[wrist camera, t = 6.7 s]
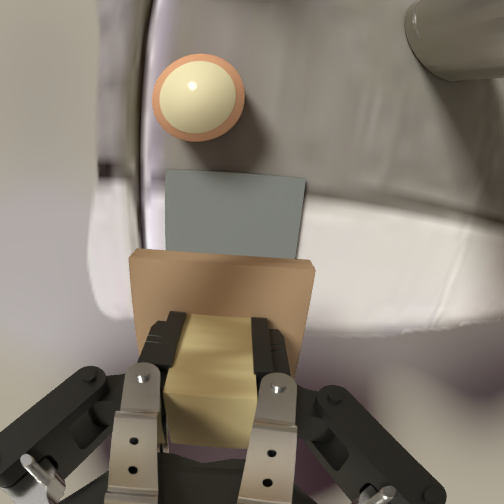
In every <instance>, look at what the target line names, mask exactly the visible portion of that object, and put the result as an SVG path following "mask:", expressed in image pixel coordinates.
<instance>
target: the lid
mask: <svg viewBox="0 0 504 504" xmlns="http://www.w3.org/2000/svg"><path fill="white" fill-rule="evenodd" d="M129 270H130V283H131V294H132V304H133V313H134V321H135V329H136V337H137V344H138V350H139V357H140V354H141V351H142V349H143V346H144V344H145V342H146V338H147V336H148V333H149V331H150V328H151V326H152V325H154V324H155V323H156V322H157V321H158V320H159V321H166V320H167V318H168V315H169V312H170V311H178V312H186V314H187V315H186V318H185V322H184V325H183V328H182V332H181V335H180V339H179V342H178V346H177V349H176V353H175V357H174V360H173V364H172V367H171V368H169V371H168V375H167V378H166V382H165V386H164V389H163V397H164V404H165V410H166V416H167V422H168V428H169V432H170V438H171V442H172V443H178V444H186V445H196V446H207V447H221V448H222V447H223V448H246V449H248V447H249V442H250V436H251V431H252V426H253V421H254V416H255V411H256V405H257V387H256V375H254V371H253V353H252V334H251V317H261V318H267V320H268V328H269V329H278V330H279V331H280V332H281V333H282V335H283V336H284V339H285V346H286V352H287V356H288V362H289V367H290V373H291V377H292V378H293V379H294V377H295V372H296V368H297V364H298V359H299V354H300V350H301V344H302V340H303V335H304V330H305V325H306V320H307V315H308V310H309V304H310V299H311V294H312V288H313V282H314V276H315V271H316V270H315V268H314V266H313V265H312V263H311V261H310V260H303V259H288V258H272V257H257V256H242V255H226V254H211V253H196V252H182V251H167V250H152V249H138V248H137V249H136V250H135V251H134V252H133V253H132V254H131V256H130V257H129Z"/></svg>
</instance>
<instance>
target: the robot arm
mask: <svg viewBox="0 0 504 504" xmlns="http://www.w3.org/2000/svg"><path fill="white" fill-rule="evenodd" d="M405 32H406V35H407V39H408V42H409V44H410V46H411V48H412V50H413V52H414V53H415V55H416V57H417V58H418V59H419V61H420V62H421V63H422V64H423V65H424V66H425V67H426V68H427V69H428V70H429V71H430V72H431V73H433V74H434V75H436V76H438V77H439V78H442V79H444V80H447V81H463V80H476V79H494V78H504V0H420V1H418V2H417V3H415V4H413V5H412V6H411V7H410V8H409V9H408V11H407V14H406V16H405ZM186 315H187V314H186V312H178V311H170V312H169V315H168V318H167V320H166V321H159V320H158V321H157V322H156V323H155V324H154V325H152V326H151V328H150V331H149V333H148V336H147V338H146V342H145V344H144V346H143V349H142V351H141V354H140V357H139V359H138V362H137V363H136V364H134V365H132V366H130V367H129V368H128V369H127V371H126V373H125V374H121V375H111V376H106V375H105V373H104V371H103V370H102V369H100V368H98V367H95V366H87V367H83V368H81V369H79V370H78V371H77V372H75V373H74V374H73V375H72V376H70V377H69V378H68V379H66V380H65V381H64V382H63V383H61V384H60V385H59V386H58V387H56V388H55V389H54V390H52V391H51V392H50V393H49V394H47V395H46V396H45V397H44V398H42V399H41V400H40V401H39V402H37V403H36V404H35V405H34V406H32V407H31V408H30V409H29V410H28V411H26V412H25V413H24V414H23V415H21V416H20V417H19V418H17V419H16V420H15V421H14V422H13V423H11V424H10V425H9V426H8V427H6V428H5V429H4V430H3V431H1V432H0V489H1V490H3V491H4V492H5V493H6V494H7V495H8V496H9V497H10V498H11V499H12V500H13V502H14V503H15V504H317V503H316V502H315V501H314V500H313V499H311V498H310V497H309V496H308V495H307V494H306V493H305V492H304V491H302V490H301V489H300V488H299V487H298V486H297V485H296V484H295V483H294V482H293V481H294V470H295V456H296V442H297V438H302V439H303V440H304V442H305V444H306V445H307V446H308V448H309V449H310V450H311V451H312V453H313V454H314V455H315V457H316V458H317V459H318V461H319V462H320V463H321V464H322V466H323V467H324V468H325V469H326V471H327V472H328V473H329V475H330V476H331V477H332V478H333V480H334V481H335V482H336V483H337V484H338V486H339V487H340V488H341V489H342V491H343V492H344V493H345V494H346V495H347V496H348V498H349V499H350V500H351V501H352V503H351V504H445V502H446V497H447V496H446V491H445V489H444V487H443V486H442V485H441V484H440V483H439V482H438V481H437V480H436V479H435V478H434V477H432V475H431V474H430V473H429V472H428V471H427V470H425V468H424V467H423V466H421V465H420V464H419V463H418V462H417V461H416V460H415V459H414V458H413V457H412V456H411V455H410V454H409V453H408V452H407V451H406V450H405V449H404V448H403V447H402V446H401V445H400V444H399V443H398V442H397V441H396V440H395V439H394V438H393V437H392V436H391V435H390V434H389V433H388V432H387V431H386V430H385V429H384V428H383V427H382V425H381V424H379V422H378V421H377V420H376V419H375V418H374V417H373V416H372V415H371V414H370V413H369V412H368V411H367V410H366V409H365V408H364V407H363V406H362V405H361V404H360V403H359V402H358V401H357V400H356V399H355V398H354V397H353V396H352V395H351V394H350V393H349V392H348V391H347V390H346V389H345V388H342V387H340V386H335V385H329V386H325V387H323V388H322V389H320V390H319V392H317V391H312V390H307V389H304V388H302V387H300V386H299V385H297V384H296V382H295V380H294V379H293V378H292V377H291V373H290V367H289V362H288V356H287V352H286V346H285V339H284V336H283V335H282V333H281V332H280V331H279V330H278V329H269V328H268V320H267V318H261V317H251V334H252V353H253V371H254V375H256V387H257V405H256V411H255V416H254V421H253V426H252V431H251V436H250V442H249V447H248V452H247V457H246V459H229V460H223V461H216V462H209V463H200V462H197V461H194V460H191V459H188V458H185V457H181V456H179V455H176V454H172V453H169V450H168V422H167V416H166V410H165V404H164V397H163V389H164V386H165V382H166V378H167V375H168V371H169V368H171V367H172V364H173V360H174V357H175V353H176V349H177V346H178V342H179V339H180V335H181V332H182V328H183V325H184V322H185V318H186ZM112 432H113V433H112ZM111 433H112V442H111V453H110V465H109V470H108V471H107V472H106V473H104V474H103V475H101V476H100V477H98V478H97V479H95V480H94V481H92V482H90V483H89V484H87V485H86V486H84V487H83V488H81V489H80V490H78V491H76V492H75V493H73V494H72V495H70V496H68V497H67V498H65V499H63V500H62V501H60V502H59V500H60V498H61V497H63V495H64V491H65V487H66V485H65V480H64V479H65V478H66V477H67V476H68V475H69V474H70V473H71V472H72V471H73V470H75V469H76V468H77V467H78V466H79V465H80V464H81V463H82V462H83V461H84V460H85V459H86V458H87V457H88V456H89V455H90V454H91V453H92V452H93V451H94V450H95V449H96V448H97V447H98V446H99V445H100V444H101V443H102V442H103V441H104V440H105V439H106V438H107V436H109V435H110V434H111Z"/></svg>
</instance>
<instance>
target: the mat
mask: <svg viewBox="0 0 504 504" xmlns="http://www.w3.org/2000/svg"><path fill="white" fill-rule="evenodd" d="M305 182H306V179H305V178H297V177H288V176H277V175H266V174H253V173H239V172H223V171H204V170H178V169H167V170H166V175H165V236H166V250H167V251H182V252H196V253H211V254H226V255H242V256H257V257H272V258H288V259H295V256H296V249H297V242H298V235H299V228H300V221H301V213H302V206H303V198H304V190H305Z"/></svg>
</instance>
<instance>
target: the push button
mask: <svg viewBox="0 0 504 504" xmlns="http://www.w3.org/2000/svg"><path fill="white" fill-rule="evenodd" d="M244 103H245V93H244V86H243V82H242V80H241V78H240V76H239V74H238V72H237V71H236V70H235V69H234V67H233V66H232V65H230V64H229V63H228V62H226V61H225V60H223V59H221V58H219V57H216V56H213V55H209V54H194V55H189V56H185V57H183V58H180V59H178V60H176V61H175V62H173V63H172V64H170V65H169V66H168V67H167V68H166V69H165V70H164V71H163V72H162V74H161V75H160V76H159V78H158V80H157V82H156V84H155V86H154V90H153V95H152V106H153V111H154V114H155V117H156V119H157V121H158V122H159V124H160V125H161V126H162V128H163V129H164V130H166V131H167V132H168V133H169V134H171V135H172V136H174V137H176V138H179V139H181V140H185V141H192V142H200V141H206V140H210V139H213V138H216V137H219V136H221V135H223V134H225V133H226V132H228V131H229V130H230V129H231V128H232V127H233V126H234V125H235V124H236V123H237V122H238V120H239V118H240V116H241V114H242V112H243V108H244Z"/></svg>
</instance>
